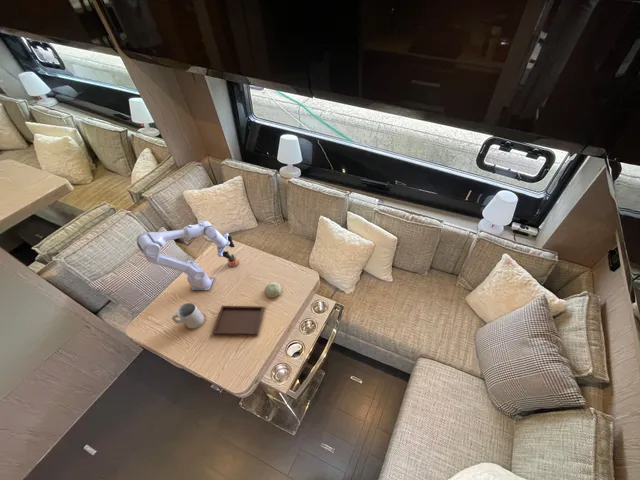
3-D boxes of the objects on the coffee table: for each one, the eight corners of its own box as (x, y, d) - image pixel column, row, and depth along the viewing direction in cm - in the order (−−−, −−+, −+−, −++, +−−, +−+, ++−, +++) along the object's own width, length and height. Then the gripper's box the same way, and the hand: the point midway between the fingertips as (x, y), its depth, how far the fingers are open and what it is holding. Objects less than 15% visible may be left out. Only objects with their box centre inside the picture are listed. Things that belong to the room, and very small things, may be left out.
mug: (203, 311, 145) (195, 300, 136) (205, 325, 140) (196, 314, 131) (178, 319, 142) (168, 308, 133) (179, 333, 137) (168, 322, 128)
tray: (213, 334, 137) (212, 333, 135) (223, 307, 147) (221, 305, 145) (257, 335, 137) (256, 333, 136) (264, 308, 147) (263, 306, 146)
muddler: (231, 264, 166) (230, 255, 160) (232, 261, 167) (231, 253, 161) (234, 264, 166) (234, 256, 160) (235, 262, 167) (235, 253, 161)
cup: (228, 266, 165) (226, 262, 162) (231, 260, 168) (228, 256, 165) (236, 266, 165) (234, 262, 162) (238, 260, 168) (236, 256, 165)
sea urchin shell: (268, 300, 149) (262, 286, 147) (267, 298, 156) (262, 285, 155) (284, 293, 151) (279, 280, 150) (283, 292, 159) (278, 279, 158)
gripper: (221, 249, 141) (235, 262, 153) (227, 227, 148) (240, 241, 160) (208, 250, 142) (223, 263, 154) (215, 228, 149) (229, 242, 161)
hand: (231, 252), depth 157 cm, fingers open, 7 cm apart
